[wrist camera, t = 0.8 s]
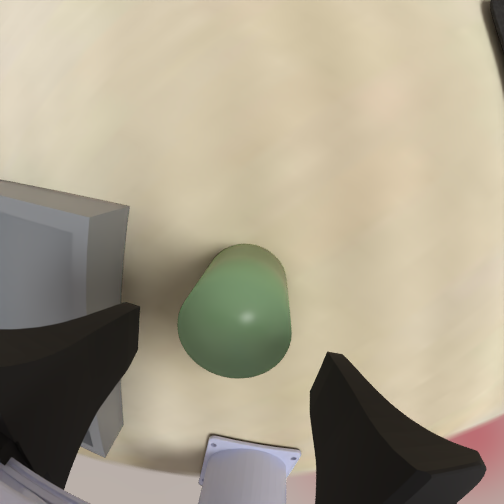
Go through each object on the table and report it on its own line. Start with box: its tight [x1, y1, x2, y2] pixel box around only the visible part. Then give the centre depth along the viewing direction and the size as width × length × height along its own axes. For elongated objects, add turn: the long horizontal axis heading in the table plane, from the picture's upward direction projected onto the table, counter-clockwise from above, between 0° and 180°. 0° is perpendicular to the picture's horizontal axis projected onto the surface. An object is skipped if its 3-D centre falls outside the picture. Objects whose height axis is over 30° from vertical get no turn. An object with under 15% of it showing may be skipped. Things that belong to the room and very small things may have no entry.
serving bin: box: [0, 180, 130, 457], centre depth 18 cm, size 20×16×4 cm
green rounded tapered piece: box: [177, 244, 292, 378], centre depth 15 cm, size 5×5×6 cm
